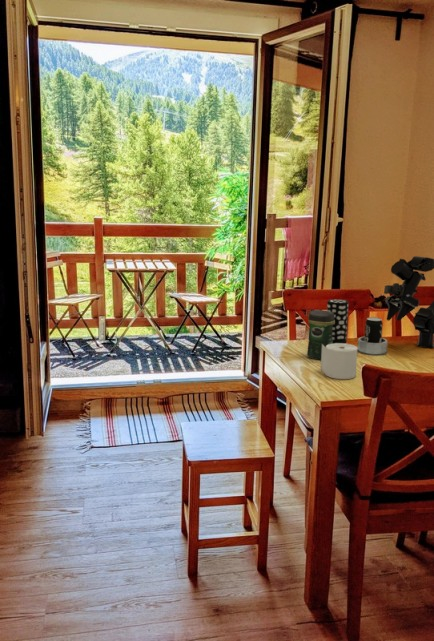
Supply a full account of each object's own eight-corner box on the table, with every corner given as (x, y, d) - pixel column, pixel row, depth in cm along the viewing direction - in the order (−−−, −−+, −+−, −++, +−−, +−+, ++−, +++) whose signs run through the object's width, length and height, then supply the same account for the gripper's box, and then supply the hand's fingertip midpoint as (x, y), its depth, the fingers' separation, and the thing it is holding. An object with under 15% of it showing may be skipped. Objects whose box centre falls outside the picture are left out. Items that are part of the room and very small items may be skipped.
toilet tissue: (357, 380, 183) (359, 351, 181) (321, 378, 185) (322, 350, 183) (354, 370, 194) (356, 343, 191) (320, 369, 196) (321, 342, 193)
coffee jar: (335, 357, 210) (338, 310, 206) (327, 362, 204) (329, 313, 200) (312, 353, 216) (314, 307, 212) (304, 357, 209) (305, 310, 205)
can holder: (359, 346, 226) (360, 335, 225) (388, 349, 221) (389, 338, 220) (354, 353, 215) (355, 341, 214) (384, 356, 211) (385, 344, 210)
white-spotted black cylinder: (342, 353, 215) (344, 303, 211) (322, 350, 220) (324, 301, 215) (348, 348, 222) (351, 300, 218) (329, 345, 227) (331, 298, 222)
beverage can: (377, 351, 213) (379, 321, 211) (361, 348, 217) (363, 319, 214) (383, 347, 219) (385, 318, 216) (367, 344, 222) (369, 316, 220)
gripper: (383, 277, 224) (366, 311, 224) (402, 274, 206) (384, 310, 205) (405, 290, 225) (389, 323, 225) (427, 287, 207) (409, 324, 206)
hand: (392, 320), depth 215 cm, fingers open, 9 cm apart
